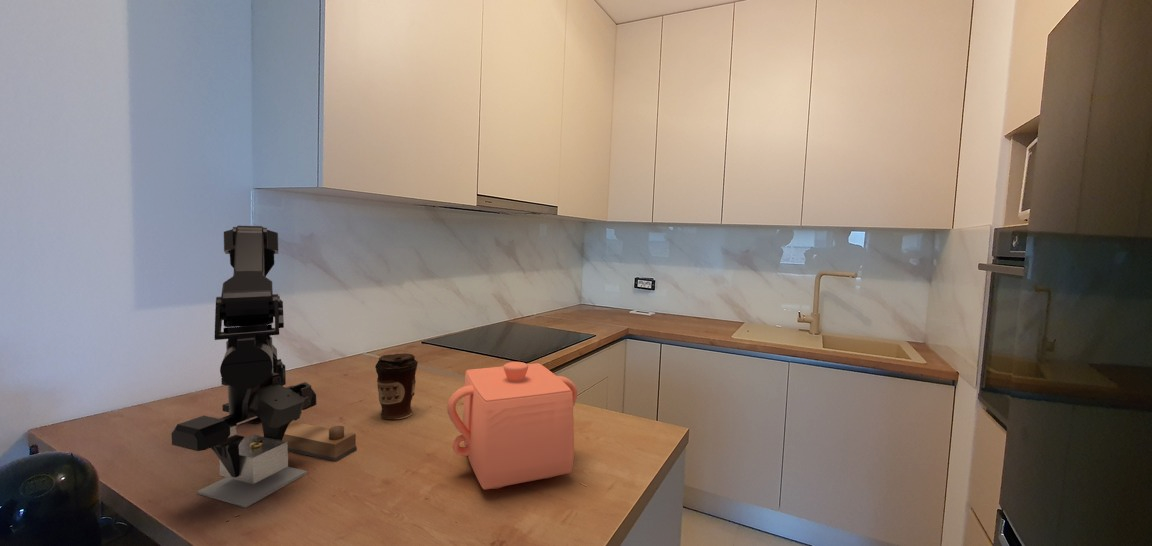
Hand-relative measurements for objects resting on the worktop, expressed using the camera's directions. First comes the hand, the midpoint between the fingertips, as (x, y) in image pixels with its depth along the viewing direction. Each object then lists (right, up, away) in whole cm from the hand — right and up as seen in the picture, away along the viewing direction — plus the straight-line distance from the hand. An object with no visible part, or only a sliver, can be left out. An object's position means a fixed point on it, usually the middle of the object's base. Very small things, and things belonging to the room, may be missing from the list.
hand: (254, 467), depth 71 cm
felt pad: (0, -3, 0) cm, 3 cm away
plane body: (+2, -2, +12) cm, 12 cm away
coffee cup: (+11, -1, +28) cm, 30 cm away
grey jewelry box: (0, -1, 0) cm, 1 cm away
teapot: (+38, -3, +11) cm, 40 cm away
